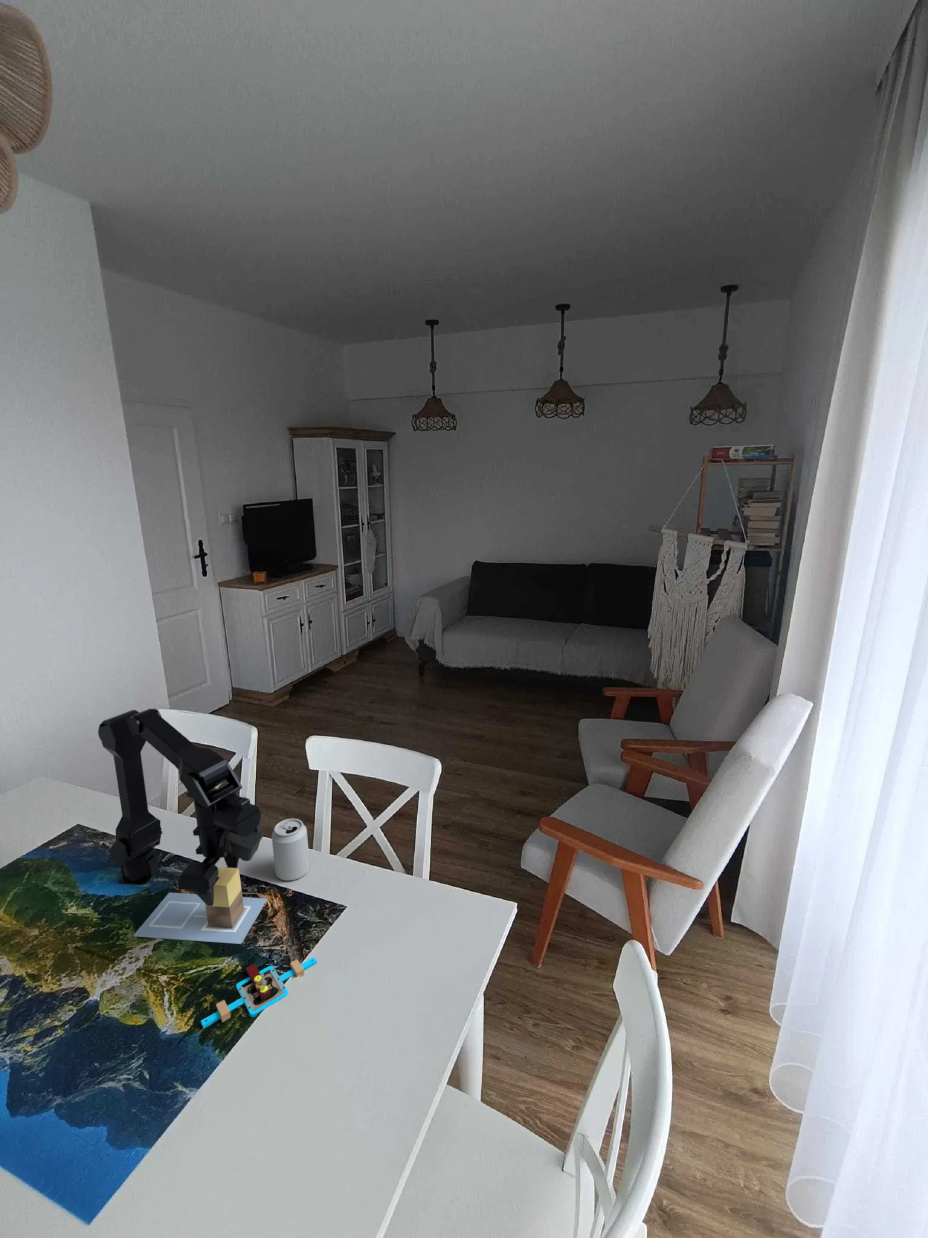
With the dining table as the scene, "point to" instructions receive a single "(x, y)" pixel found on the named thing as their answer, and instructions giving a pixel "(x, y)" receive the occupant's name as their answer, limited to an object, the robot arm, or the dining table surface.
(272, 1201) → the dining table surface
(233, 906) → the walnut cube
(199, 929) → the blueprint sheet
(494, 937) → the dining table surface
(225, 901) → the ochre block
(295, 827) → the can
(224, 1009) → the gear mechanism
